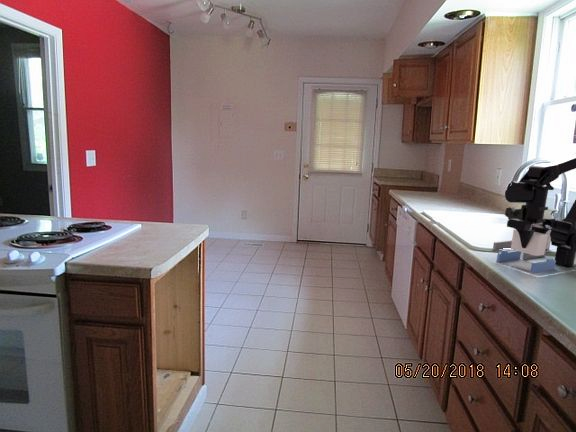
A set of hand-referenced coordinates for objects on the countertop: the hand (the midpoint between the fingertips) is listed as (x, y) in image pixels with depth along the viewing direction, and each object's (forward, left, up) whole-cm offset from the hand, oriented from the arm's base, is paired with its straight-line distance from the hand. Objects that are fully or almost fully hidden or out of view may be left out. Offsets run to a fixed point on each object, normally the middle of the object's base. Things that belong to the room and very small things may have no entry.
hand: (528, 247), depth 135 cm
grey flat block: (-13, -11, -7) cm, 18 cm away
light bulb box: (-30, -16, -7) cm, 35 cm away
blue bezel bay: (0, 0, -7) cm, 7 cm away
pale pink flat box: (0, 0, -2) cm, 2 cm away
